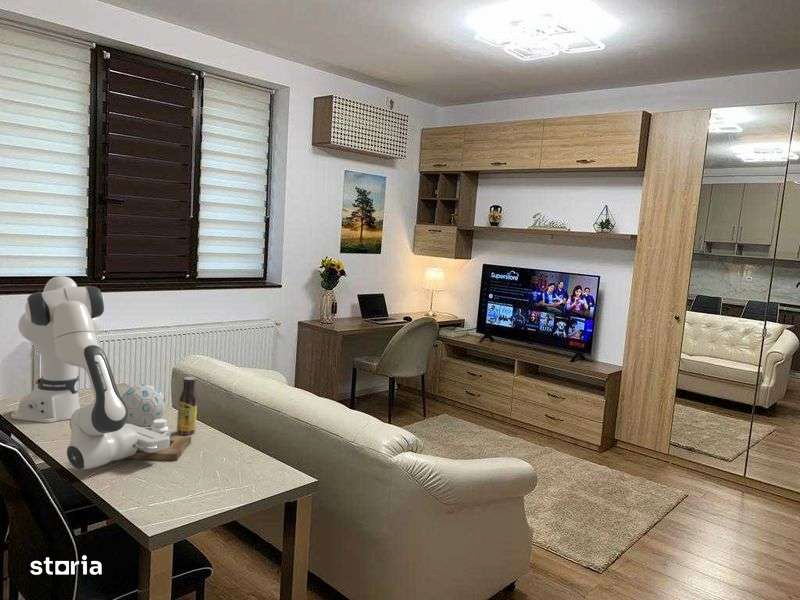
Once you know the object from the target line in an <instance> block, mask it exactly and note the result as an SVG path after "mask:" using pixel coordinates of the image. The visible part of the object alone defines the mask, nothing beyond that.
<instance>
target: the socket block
mask: <svg viewBox="0 0 800 600" xmlns="http://www.w3.org/2000/svg"><path fill="white" fill-rule="evenodd" d="M191 444H192V436H186V435H181V436H180V435H171V436H170V446H169V448H168V449H165V450H161V451H157V452H152V453H147V452H144V451H141V450H138V449H137V451H136V453H135V454H134V455H132V456H129V457H126V458H125V459H130V458H136V459H137V460H156V461H157V460H161V461H178V460H179V459H180V457H181V456H182V455H183V453H185V451H186V450H187V449H188V447H189V446H191ZM136 459H135V460H136Z"/></svg>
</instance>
